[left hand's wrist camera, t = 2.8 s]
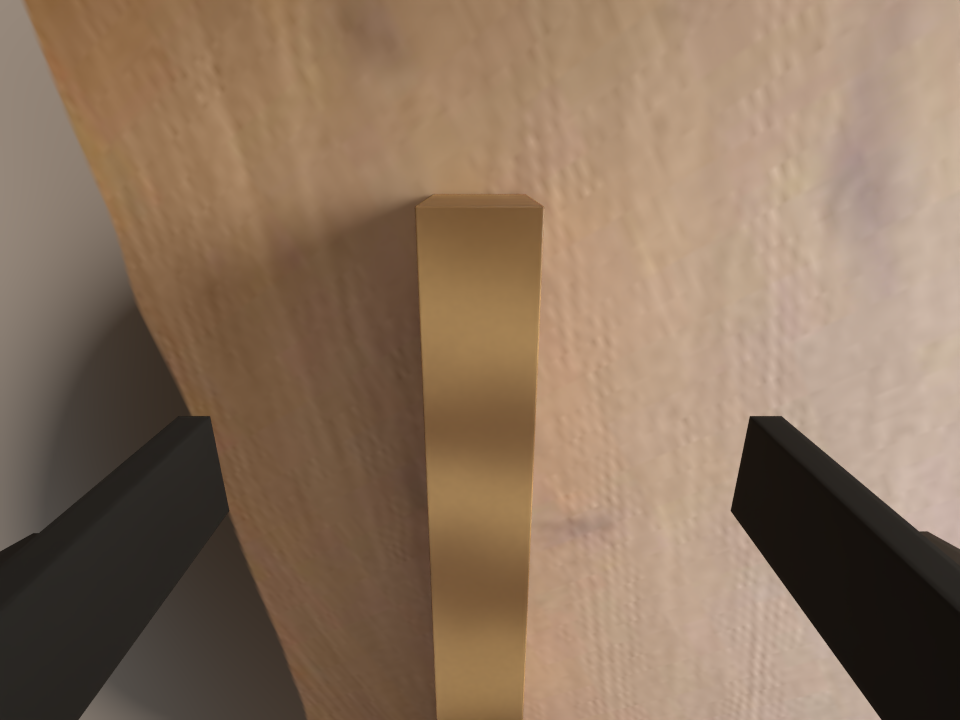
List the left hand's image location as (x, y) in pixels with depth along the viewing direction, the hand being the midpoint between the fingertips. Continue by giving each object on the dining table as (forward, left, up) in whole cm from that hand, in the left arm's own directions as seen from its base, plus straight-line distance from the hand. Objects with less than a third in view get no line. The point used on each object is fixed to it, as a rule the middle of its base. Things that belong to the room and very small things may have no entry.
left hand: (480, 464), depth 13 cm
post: (+21, 0, -15) cm, 26 cm away
